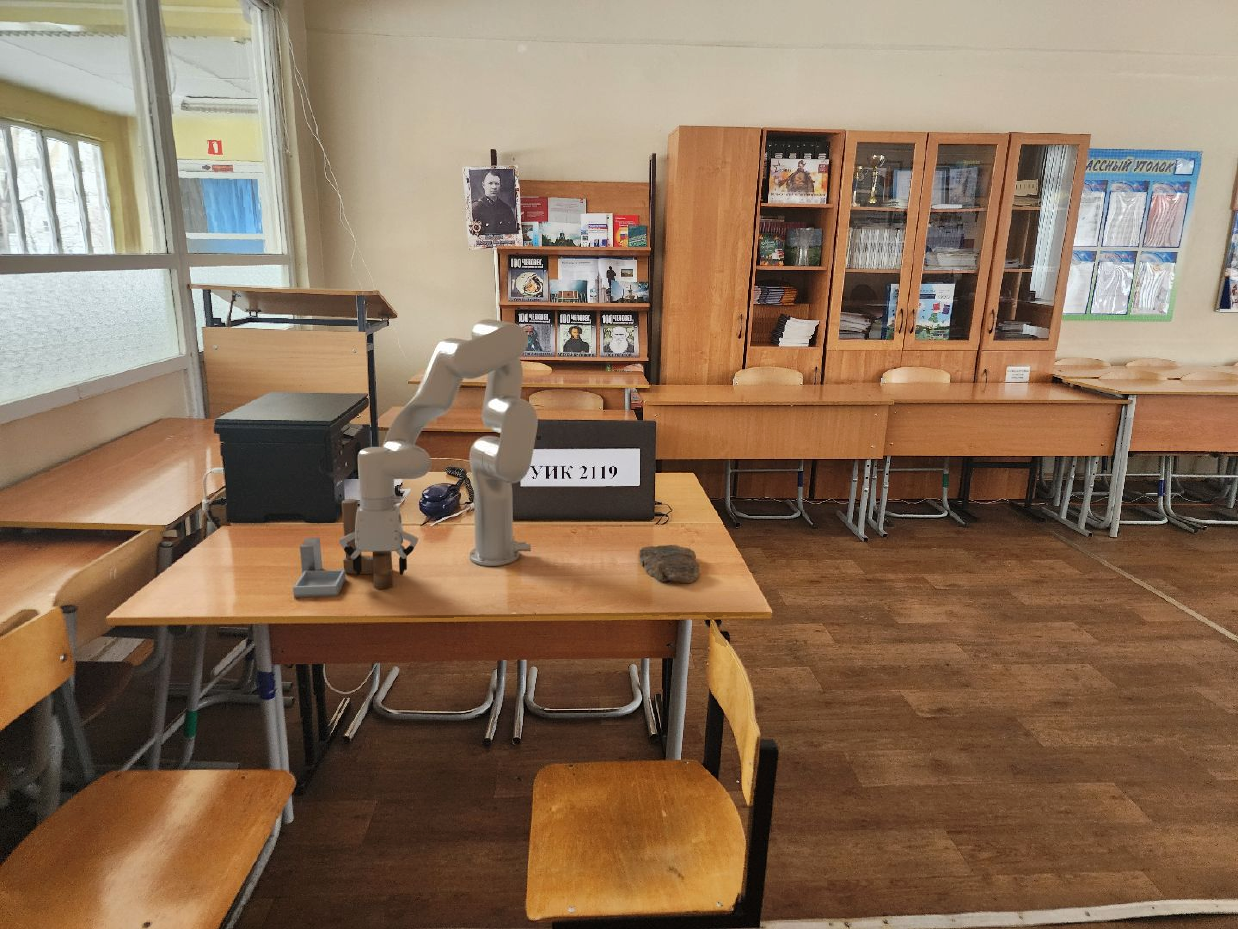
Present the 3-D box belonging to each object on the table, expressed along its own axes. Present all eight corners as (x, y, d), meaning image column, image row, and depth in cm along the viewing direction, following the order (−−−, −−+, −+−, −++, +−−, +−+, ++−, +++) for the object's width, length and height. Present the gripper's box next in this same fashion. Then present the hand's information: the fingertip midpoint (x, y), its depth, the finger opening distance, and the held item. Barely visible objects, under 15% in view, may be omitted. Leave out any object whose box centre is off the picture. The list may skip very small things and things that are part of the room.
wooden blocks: (388, 575, 180) (383, 504, 175) (343, 574, 180) (338, 503, 175) (393, 569, 183) (388, 499, 178) (349, 568, 183) (344, 498, 179)
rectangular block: (322, 568, 183) (319, 537, 181) (316, 578, 177) (313, 546, 175) (309, 568, 182) (306, 537, 180) (302, 578, 177) (299, 546, 175)
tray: (345, 579, 177) (345, 569, 176) (336, 596, 168) (336, 586, 167) (305, 580, 175) (304, 570, 175) (293, 597, 167) (292, 587, 166)
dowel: (393, 582, 176) (391, 550, 174) (391, 589, 172) (389, 557, 170) (376, 583, 175) (374, 551, 173) (373, 590, 171) (370, 557, 169)
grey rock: (708, 588, 178) (690, 555, 197) (708, 569, 176) (691, 537, 195) (649, 591, 176) (637, 557, 195) (649, 572, 175) (637, 540, 194)
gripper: (419, 497, 173) (421, 566, 177) (341, 497, 170) (345, 567, 175) (414, 507, 166) (416, 579, 170) (333, 507, 163) (337, 580, 167)
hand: (380, 573), depth 172 cm, fingers open, 9 cm apart
